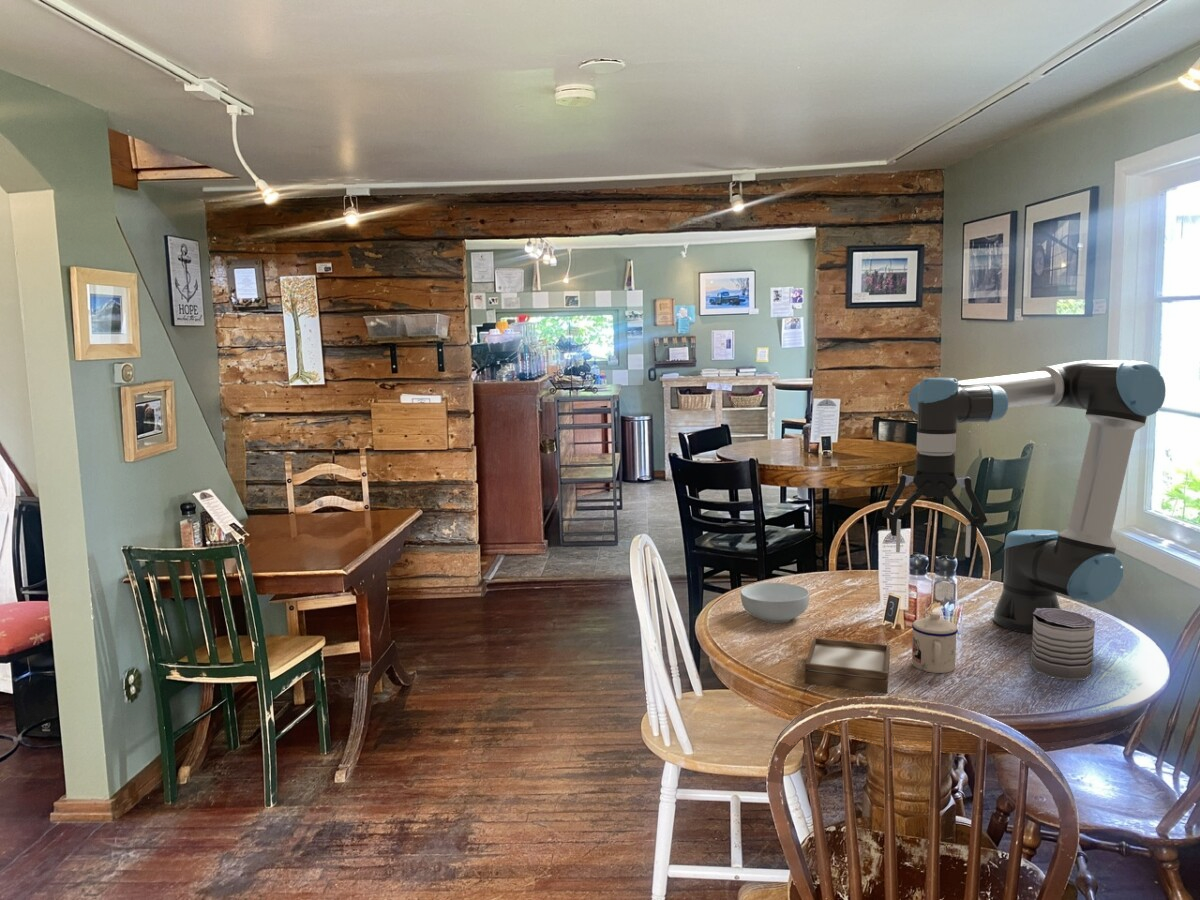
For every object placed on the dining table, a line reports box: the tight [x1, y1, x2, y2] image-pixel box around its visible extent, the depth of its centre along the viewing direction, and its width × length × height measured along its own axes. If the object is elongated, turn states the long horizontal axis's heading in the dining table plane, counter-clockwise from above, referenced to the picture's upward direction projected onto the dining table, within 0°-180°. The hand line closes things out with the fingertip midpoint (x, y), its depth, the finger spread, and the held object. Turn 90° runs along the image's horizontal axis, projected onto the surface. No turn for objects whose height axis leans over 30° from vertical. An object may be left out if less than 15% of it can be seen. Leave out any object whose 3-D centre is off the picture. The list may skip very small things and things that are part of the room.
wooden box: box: [804, 637, 891, 694], centre depth 180 cm, size 16×16×4 cm
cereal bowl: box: [740, 581, 810, 624], centre depth 215 cm, size 17×17×7 cm
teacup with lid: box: [911, 612, 959, 674], centre depth 181 cm, size 12×9×12 cm
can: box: [1030, 608, 1096, 681], centre depth 179 cm, size 11×11×12 cm
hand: (932, 553), depth 180 cm, fingers open, 13 cm apart
